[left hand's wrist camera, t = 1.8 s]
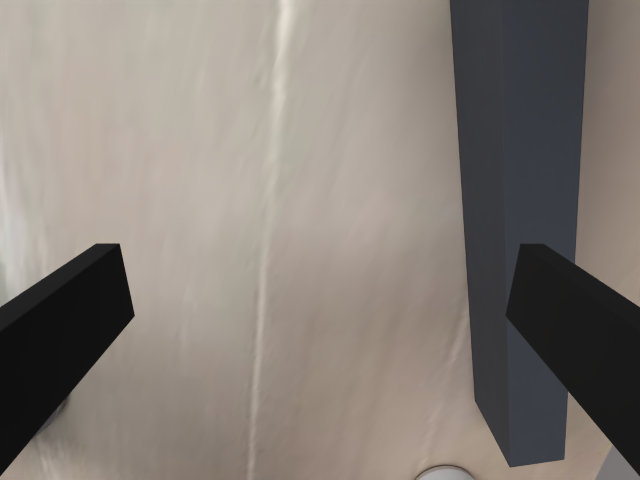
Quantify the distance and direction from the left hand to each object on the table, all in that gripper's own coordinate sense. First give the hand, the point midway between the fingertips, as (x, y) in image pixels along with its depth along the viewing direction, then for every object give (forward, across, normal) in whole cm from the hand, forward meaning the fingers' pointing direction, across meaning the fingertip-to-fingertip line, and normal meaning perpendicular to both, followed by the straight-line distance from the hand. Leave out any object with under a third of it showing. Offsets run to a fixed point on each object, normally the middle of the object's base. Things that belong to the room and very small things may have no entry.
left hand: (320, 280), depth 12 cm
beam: (+22, -15, +1) cm, 26 cm away
